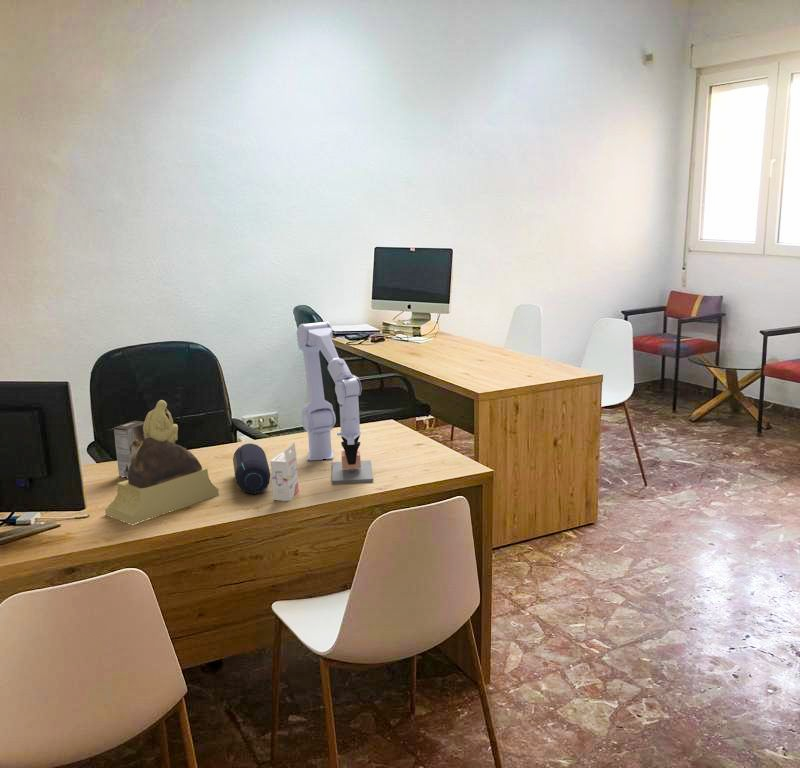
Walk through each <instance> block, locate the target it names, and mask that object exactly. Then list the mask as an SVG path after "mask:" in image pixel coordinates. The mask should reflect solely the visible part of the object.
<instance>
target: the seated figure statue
mask: <svg viewBox="0 0 800 768" xmlns="http://www.w3.org/2000/svg"><path fill="white" fill-rule="evenodd" d="M167 406H168V403H167V402H166V401H165V400H163V399H160V400H158V401H157V403H156V404H155V407H154V408H153V409H152V410H150V411H148V412H147V414H146V417H145V419H144V421H143V422H144V425H143V430H144V434H145V437H146V439H145V440H144V442H143V443H142V444H141V445H140V446H139V447H138V449H137V452H136V456H135V459H134V460H133V461H132V463H131V465H130V467H129V470H128V478H127V480H123V481H120V482H117V491H116V492H117V493H116V495H115V497H114V499H113V501H112V502H110V504H108V506H107V507H105V508H104V513H105V515H106V516H107V515H109V516H112V517H114V518H113V519H115V518H116V519H115V520H117V519H119V520H118V521H120V520H122V521H125V522H127V523H126V524H128V523H130V524H135V523H137V522H140V521H142V520H146V519H148V518H152V517H155V516H158V515H161V514H163V513H166V514H168V513H167V512H169V511H172V510H175V511H177V510H180V509H183V508H186V507H188V505H189V506H191V504H192V505H194V504H197V503H200V502H202V500H203V501H205V499H206V500H208V499H210V497H211V498H214V497H217V496H220V493H219V488H218V487H216V486H215V485H214V484H213V483H212V481H211V479H210V477H209V470H208V468H206V467H203V466H202V465H201V463H200V461H199V460H198V458H197V457H196V456H195V455H194V454H193V453H192V452H191V450H188V449H187V448H186V447H183V446H181V445H180V444H176V441H178V431H179V426H178V424H177V423H174V420H173V417H172V414H171V412H170V411H169V409H168V408H167ZM166 414H167V415H168V416H167V415H166ZM148 433H149V437H148ZM216 495H217V496H216ZM213 496H214V497H213ZM185 506H186V507H185ZM182 507H183V508H182ZM179 508H180V509H179ZM176 509H177V510H176ZM172 512H173V511H172ZM169 513H170V512H169ZM163 515H164V514H163ZM109 516H108V517H109ZM161 516H162V515H161ZM112 517H111V518H112ZM158 517H159V516H158ZM155 518H156V517H155ZM152 519H153V518H152ZM122 521H121V522H122ZM125 522H124V523H125ZM130 524H129V525H130ZM135 525H136V524H135Z"/></svg>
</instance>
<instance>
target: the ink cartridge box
mask: <svg viewBox="0 0 800 768" xmlns="http://www.w3.org/2000/svg"><path fill="white" fill-rule="evenodd" d="M269 462H270V474H271V475H270V476H271V485H272V497H273V501H274V500H278V501H277V502H280V501H279V500H282V501H281V502H291V500H292V499H293V498H294V497H295V496H294V495H297V494H298V493H299V492H300V491H299V490H300V489H299V475H298V460H297V451H296V445H295V442H293V443H292V444H291V445H289V446H288V447H287V448H286V449H285V450H284V452H282V451H281V452H279V453H278V454H277V455H275V457H273V458H272V459H271V460H270V461H269Z"/></svg>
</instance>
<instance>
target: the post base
mask: <svg viewBox="0 0 800 768" xmlns="http://www.w3.org/2000/svg"><path fill="white" fill-rule="evenodd" d="M331 471H332V474H331V479H332V480H331V484H332V485H341V484H343V485H344V483H346V484H361V483H362V484H363V483H374V476H373V467H372V460H361V468H355V469H342V461H335V462H332V470H331Z"/></svg>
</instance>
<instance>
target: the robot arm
mask: <svg viewBox="0 0 800 768" xmlns="http://www.w3.org/2000/svg"><path fill="white" fill-rule="evenodd" d="M296 338H297V345H298V349H299V350H300V351H302V355H303V361H304V371H305V377H306V378H305V379H306V385H307V394H308V402H307V403H306V404H304V406H302V408H301V424H302V427H303V430H305V431H306V432H307V433H308V435H307V436H308V456H307V461H322V460H323V459H326V460H333V459H334V449H332V436H331V434H332V433H331V431H333V427H335V424H336V421H337V419H336V413H335V411H334V408H333V404H332V403H330V402H329V401H328V400H326V399H325V392H324V384H323V376H322V368H321V367H322V366H321V359H320V352H321V354H322V355H323V357H324V358H325V360H326V361H327V363H328V365H327V371H328V372H329V374H330V376H331V378H332V380H333V383H334V385H335V386H334V392H335V394H336V398H337V399H336V400H337V403H338V404H339V405H338V406H339V418H340V419H339V421H340V422H339V425H340V431H337V432H336V435H337V436H340V437H341V439H342V441H341V443H340V444H341V447H342V449H343V451H345V453H346V457H347V462H348V464H349V465H353V464H355V463H356V457H357V451H358V450H359V448H360V446H361V441H359V440H360V438H361V428H360V426H361V424H360V408H359V406H360V405H359V402H360V401H359V396H361V395H362V390H363V389H362V383H361V380H360V378H359V377H358V376H356V375H355V374H352V372H351V371H350V368H349V366H348V365H347V363H346V360H345V359H343V358H340V357H339V355H338V352H337V349H336V346H335V345H334V343H333V342H334V341H333V327H332V325H331V323H330V322H329V321H327V320H324V321H322V322H311V323H300V324H299V326H298V327H297V330H296ZM323 461H324V460H323Z"/></svg>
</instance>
